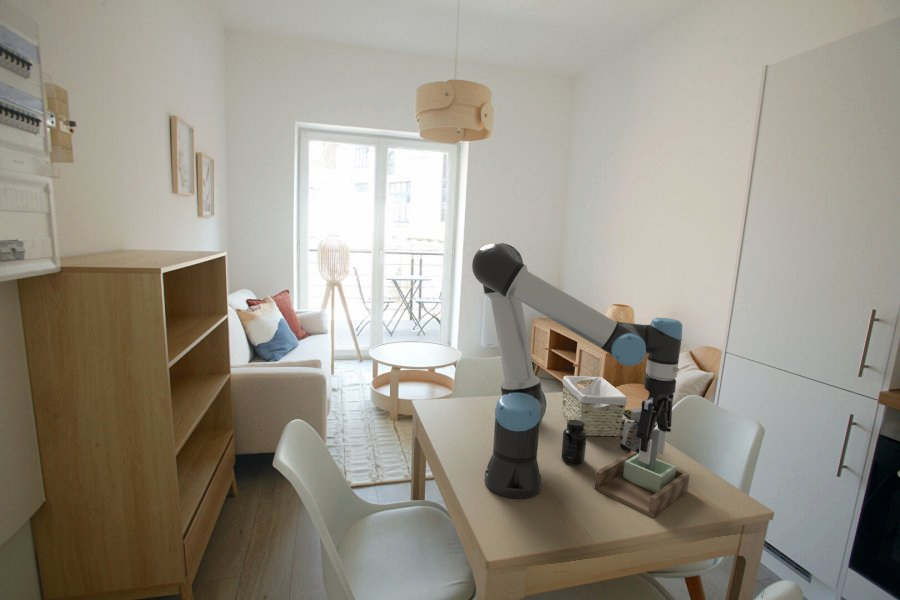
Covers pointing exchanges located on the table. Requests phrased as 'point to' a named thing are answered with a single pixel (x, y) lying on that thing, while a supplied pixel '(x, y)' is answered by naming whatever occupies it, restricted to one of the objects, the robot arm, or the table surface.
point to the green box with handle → (649, 469)
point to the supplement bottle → (574, 443)
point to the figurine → (631, 430)
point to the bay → (639, 488)
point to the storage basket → (593, 405)
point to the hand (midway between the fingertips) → (651, 457)
